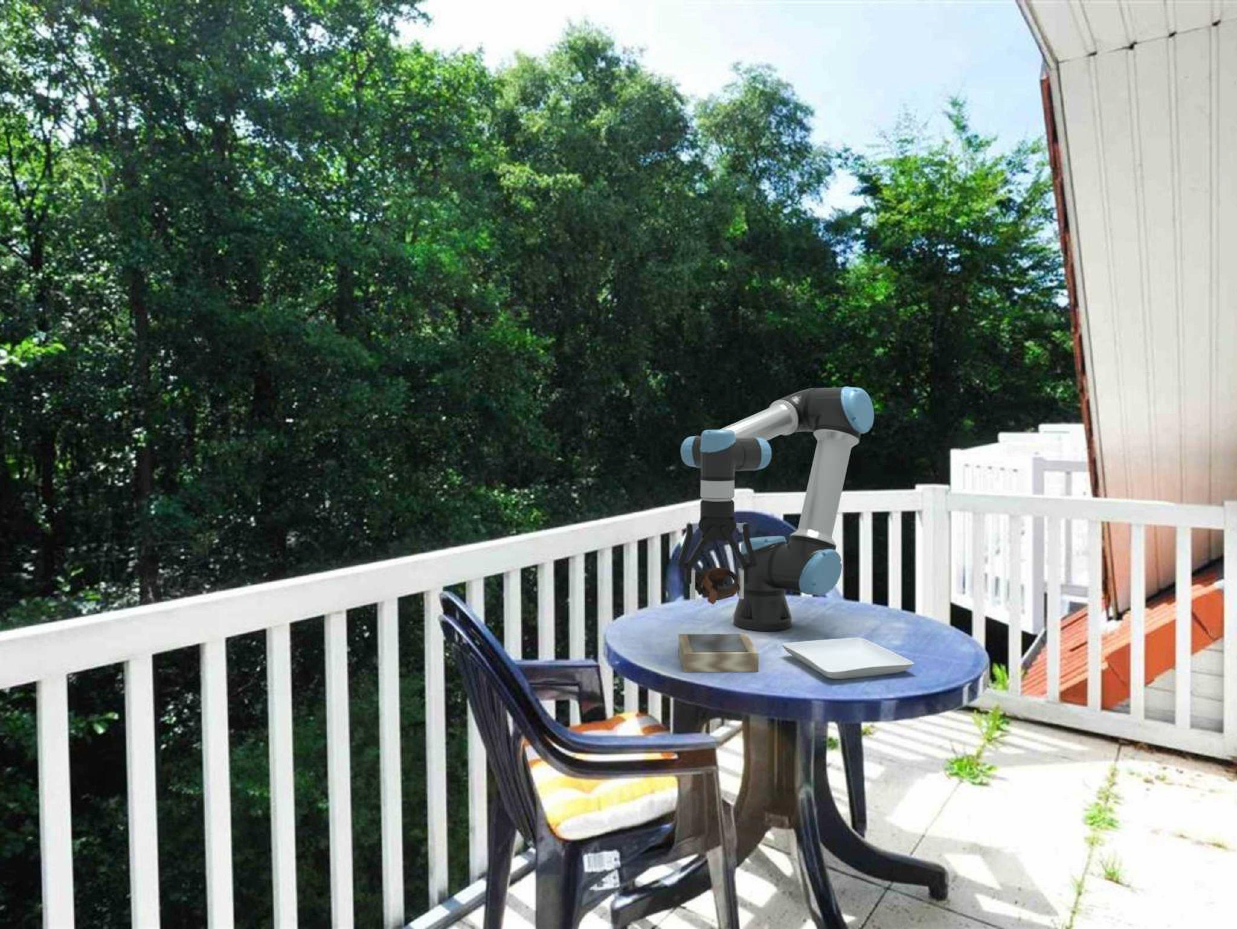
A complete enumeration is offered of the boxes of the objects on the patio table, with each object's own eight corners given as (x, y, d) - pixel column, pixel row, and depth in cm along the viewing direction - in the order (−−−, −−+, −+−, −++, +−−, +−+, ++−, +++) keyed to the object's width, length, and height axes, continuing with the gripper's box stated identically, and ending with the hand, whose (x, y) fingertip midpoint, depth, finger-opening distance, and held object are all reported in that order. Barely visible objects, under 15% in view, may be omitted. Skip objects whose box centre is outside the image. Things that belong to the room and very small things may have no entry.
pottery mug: (741, 598, 192) (746, 571, 187) (728, 624, 184) (734, 596, 180) (691, 581, 195) (696, 554, 191) (678, 606, 188) (682, 579, 183)
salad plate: (917, 677, 176) (917, 661, 176) (828, 687, 170) (828, 670, 170) (860, 650, 197) (861, 635, 197) (779, 657, 191) (779, 643, 190)
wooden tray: (746, 650, 195) (746, 632, 195) (758, 671, 179) (758, 652, 179) (678, 650, 195) (678, 633, 195) (684, 671, 179) (684, 652, 179)
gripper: (765, 497, 189) (764, 594, 190) (665, 497, 189) (665, 594, 190) (771, 500, 181) (770, 601, 183) (667, 501, 181) (667, 601, 183)
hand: (716, 597), depth 186 cm, fingers closed on pottery mug, 10 cm apart
